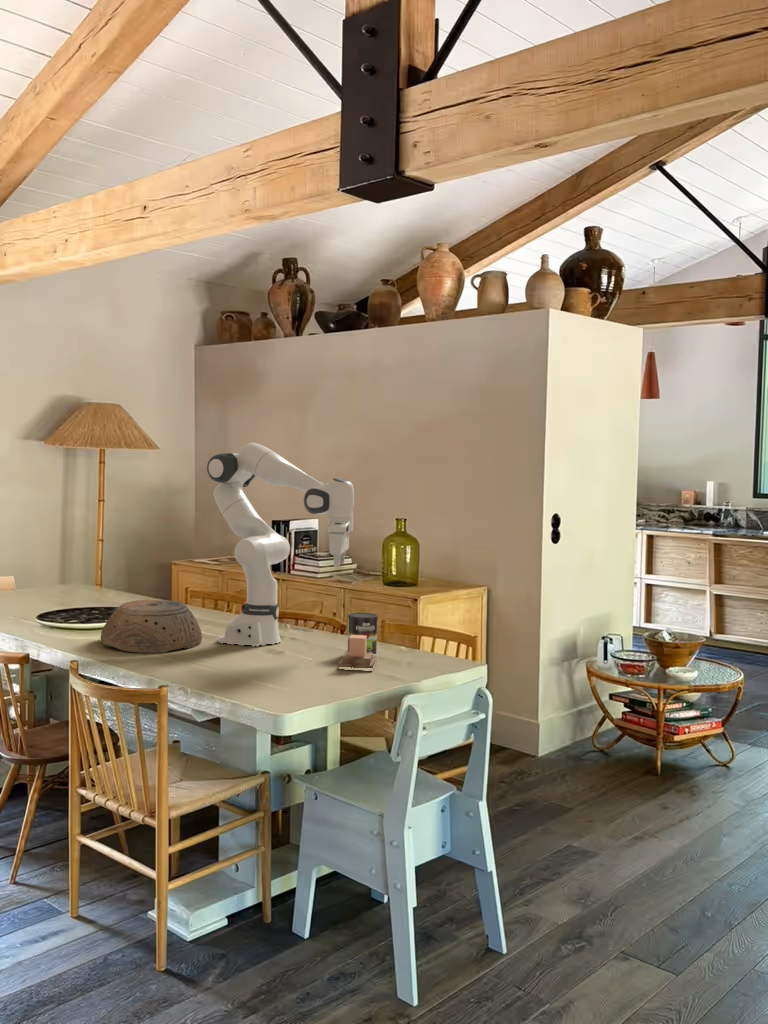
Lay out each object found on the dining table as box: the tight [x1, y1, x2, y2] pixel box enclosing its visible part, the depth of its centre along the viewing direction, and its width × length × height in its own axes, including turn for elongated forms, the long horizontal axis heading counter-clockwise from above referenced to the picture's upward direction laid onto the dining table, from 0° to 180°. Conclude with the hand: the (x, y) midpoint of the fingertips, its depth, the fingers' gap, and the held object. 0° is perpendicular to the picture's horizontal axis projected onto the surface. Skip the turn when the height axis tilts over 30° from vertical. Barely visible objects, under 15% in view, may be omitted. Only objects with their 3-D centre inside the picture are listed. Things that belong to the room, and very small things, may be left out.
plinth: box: [337, 651, 377, 668], centre depth 301 cm, size 11×11×4 cm
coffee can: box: [346, 612, 379, 655], centre depth 319 cm, size 10×10×14 cm
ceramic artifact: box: [100, 599, 203, 654], centre depth 330 cm, size 35×36×15 cm
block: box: [349, 635, 367, 657], centre depth 301 cm, size 5×5×6 cm
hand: (339, 565), depth 320 cm, fingers open, 8 cm apart
